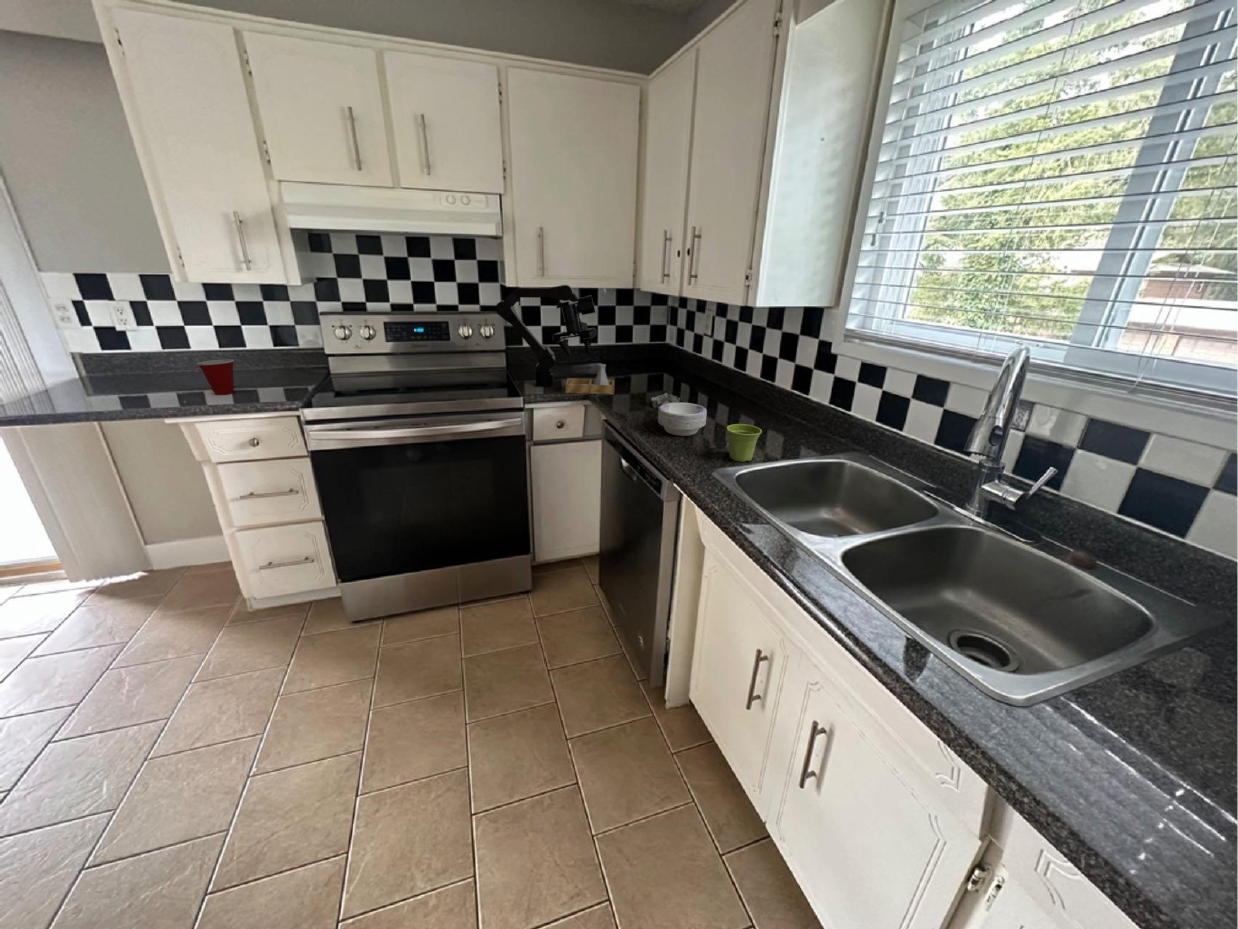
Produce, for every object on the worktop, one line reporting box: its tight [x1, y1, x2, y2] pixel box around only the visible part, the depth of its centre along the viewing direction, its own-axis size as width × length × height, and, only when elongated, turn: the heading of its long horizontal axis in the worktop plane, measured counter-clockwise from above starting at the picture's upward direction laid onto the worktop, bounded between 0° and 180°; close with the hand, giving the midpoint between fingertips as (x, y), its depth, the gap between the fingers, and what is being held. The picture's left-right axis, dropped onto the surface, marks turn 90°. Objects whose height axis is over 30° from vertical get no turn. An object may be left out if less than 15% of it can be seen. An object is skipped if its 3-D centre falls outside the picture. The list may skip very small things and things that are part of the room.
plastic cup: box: [196, 358, 235, 396], centre depth 182 cm, size 11×11×12 cm
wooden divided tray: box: [564, 377, 615, 395], centre depth 206 cm, size 20×10×4 cm, turn 91°
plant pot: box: [726, 423, 763, 463], centre depth 139 cm, size 9×9×9 cm
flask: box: [593, 363, 609, 385], centre depth 204 cm, size 7×7×10 cm
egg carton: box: [651, 392, 681, 409], centre depth 188 cm, size 11×8×4 cm
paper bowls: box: [657, 402, 708, 437], centre depth 159 cm, size 15×15×8 cm
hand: (579, 355), depth 208 cm, fingers open, 9 cm apart
